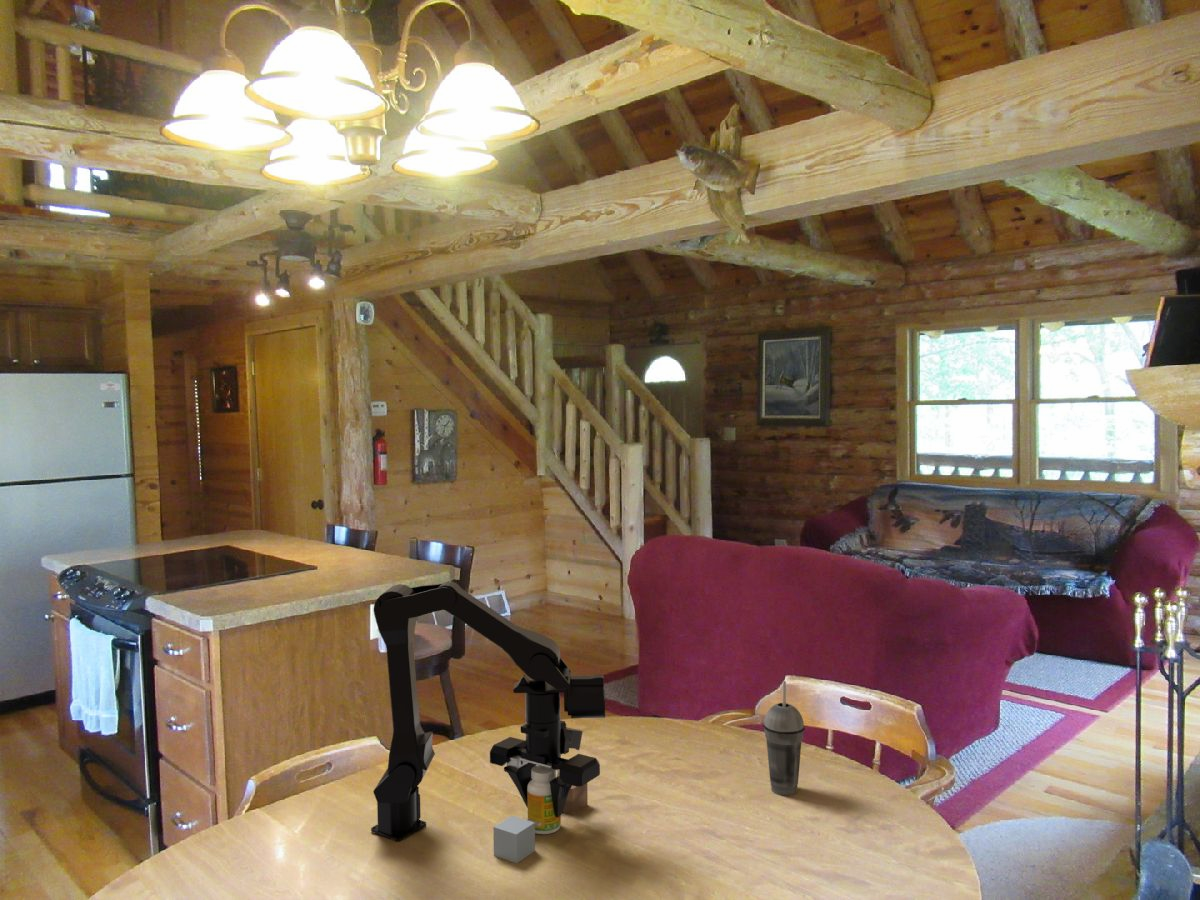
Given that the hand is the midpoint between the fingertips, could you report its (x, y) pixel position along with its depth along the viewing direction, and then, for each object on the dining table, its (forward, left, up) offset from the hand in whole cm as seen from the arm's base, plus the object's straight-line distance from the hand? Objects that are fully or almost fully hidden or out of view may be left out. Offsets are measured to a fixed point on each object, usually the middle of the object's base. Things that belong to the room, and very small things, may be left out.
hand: (544, 812), depth 140 cm
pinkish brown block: (+9, +1, -3) cm, 9 cm away
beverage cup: (+34, -28, -3) cm, 44 cm away
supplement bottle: (0, 0, -3) cm, 3 cm away
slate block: (-9, -1, -3) cm, 9 cm away
